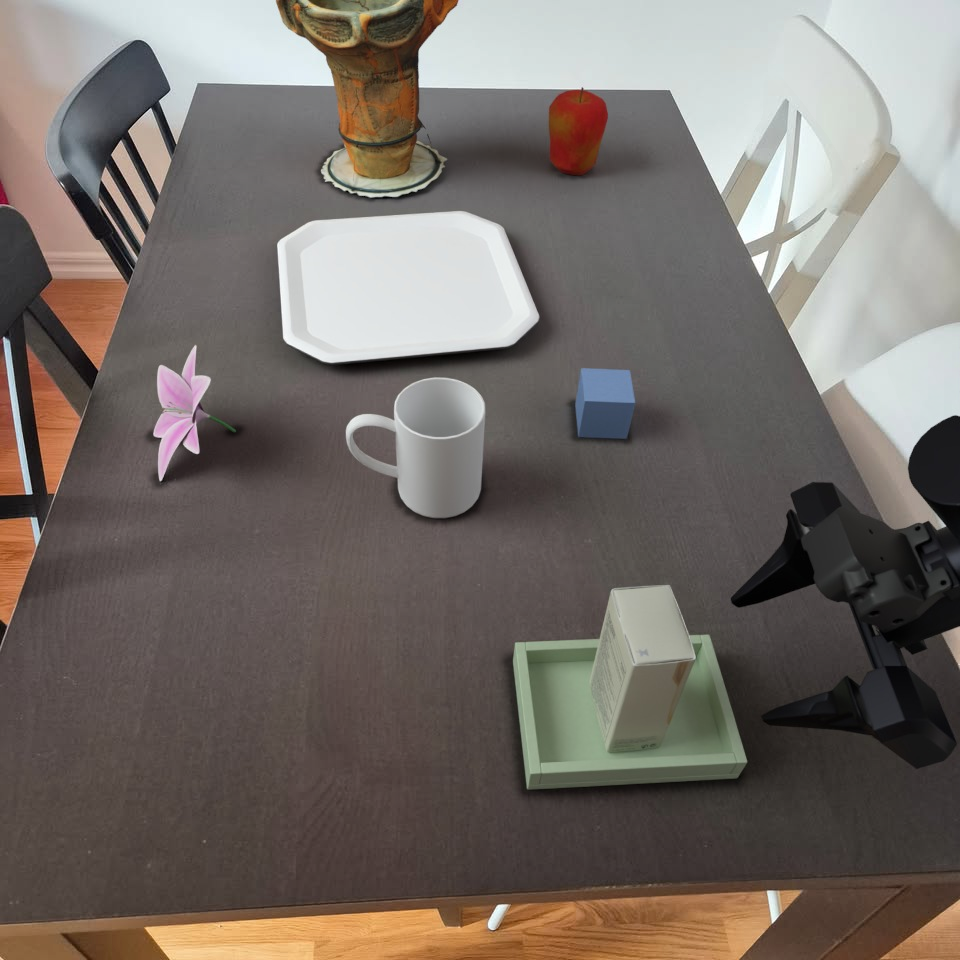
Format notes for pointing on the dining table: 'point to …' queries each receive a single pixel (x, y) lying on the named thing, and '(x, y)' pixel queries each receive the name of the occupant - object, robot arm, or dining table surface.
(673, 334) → the dining table surface
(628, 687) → the cosmetic box
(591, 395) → the blue block
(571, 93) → the apple
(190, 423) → the lily
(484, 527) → the dining table surface
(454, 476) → the mug
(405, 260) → the plate
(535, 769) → the sage tray
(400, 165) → the decorative vase
